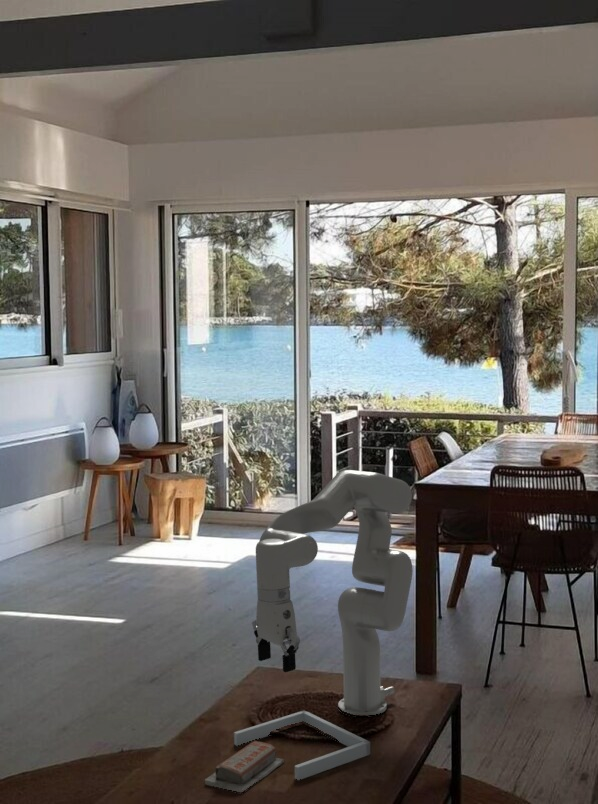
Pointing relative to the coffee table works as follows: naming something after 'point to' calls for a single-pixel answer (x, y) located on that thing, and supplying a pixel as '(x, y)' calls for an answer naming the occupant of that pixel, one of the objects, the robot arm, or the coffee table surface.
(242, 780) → the packaged product
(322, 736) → the coffee table surface
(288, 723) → the open frame
